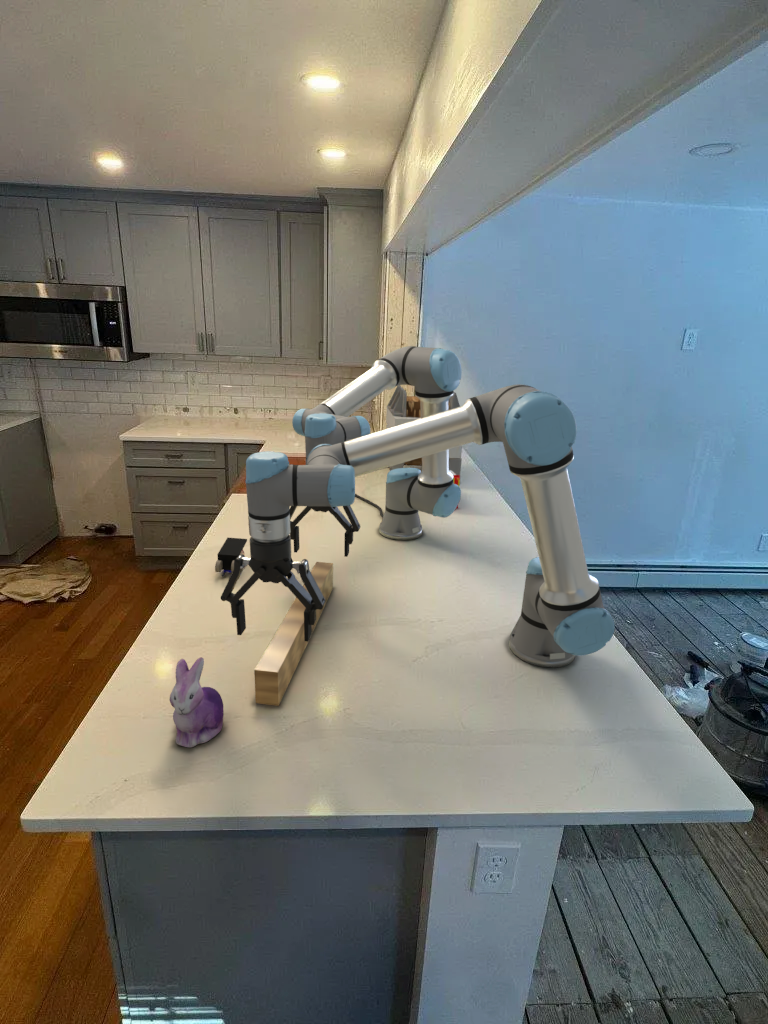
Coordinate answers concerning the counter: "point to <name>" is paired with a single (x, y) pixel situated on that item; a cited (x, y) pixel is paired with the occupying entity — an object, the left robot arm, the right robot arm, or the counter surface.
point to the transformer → (410, 410)
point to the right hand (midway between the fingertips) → (274, 634)
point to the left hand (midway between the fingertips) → (321, 552)
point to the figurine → (195, 706)
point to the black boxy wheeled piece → (229, 554)
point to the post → (288, 644)
